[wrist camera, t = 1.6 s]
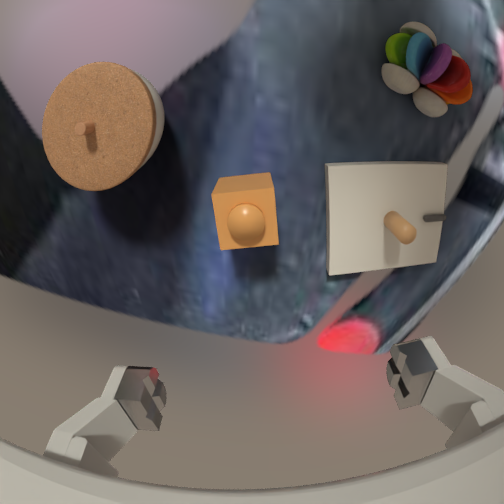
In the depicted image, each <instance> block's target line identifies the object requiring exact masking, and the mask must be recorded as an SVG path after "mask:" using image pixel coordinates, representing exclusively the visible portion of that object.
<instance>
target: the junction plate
mask: <svg viewBox="0 0 504 504" xmlns="http://www.w3.org/2000/svg"><path fill="white" fill-rule="evenodd" d="M447 168H448V165H447V164H445V163H442V162H428V161H374V162H343V163H325V185H326V228H327V261H326V269H327V271H328V274H329V276H330V275H339V274H347V273H356V272H365V271H373V270H381V269H389V268H397V267H405V266H412V265H420V264H427V263H434V262H436V259H437V254H438V248H439V242H440V236H441V229H442V222H443V221H445V220H446V215H445V214H444V205H445V195H446V184H447Z"/></svg>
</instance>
